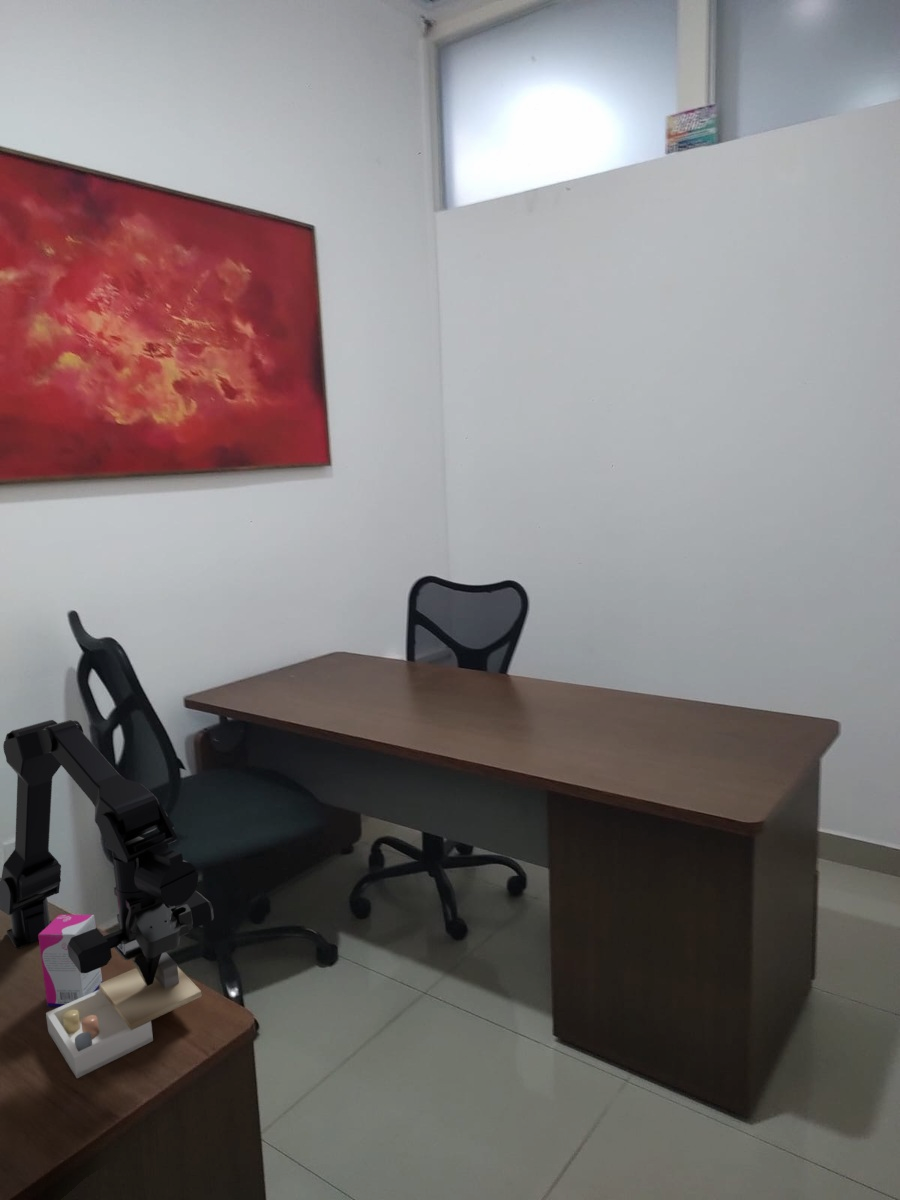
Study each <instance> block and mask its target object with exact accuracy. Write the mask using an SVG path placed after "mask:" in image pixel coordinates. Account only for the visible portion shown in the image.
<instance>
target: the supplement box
mask: <svg viewBox="0 0 900 1200" xmlns="http://www.w3.org/2000/svg"><path fill="white" fill-rule="evenodd" d="M95 928H97V927H96V919H95V914H58V915H57V916H56V917H55V918H54V919H53V920H52V921H51V923H50V924H49V925H48V926H47V927H46V928H45V929H44V930H43V931H42V932H41V933H39V935H38V938H39V941H38V943H39V951H40V959H41V965H42V975H43V981H44V983H43V984H44V988H45V989H44V990H45V998H46V999H45V1000H46V1006H47V1007H51V1008H53V1007H56V1008H58V1007H61V1006H63V1005H65V1004H68V1003H70V1002H72V1001H74V1000H77V999H79V998H81V997H84V996H86V995H88V994H90V993H93V992H95V991H97V990H100V988H99V984H100V983H102V982H103V977H102V976H103V975H102V970H101V968H102V967H100V968H98V969H96V970H93V971H91V972H88V973H81V972H80V971H79V970H78V968H77V967H76V966H75V964H74V963H73V962H72V960H71V959H70V958H69V955H68V947H67V945H68V943H69V941H70V940H71V938H72V937H74V936H77V935H80V934H82V933H85V932H87V931H90V930H93V929H95Z"/></svg>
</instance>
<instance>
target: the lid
mask: <svg viewBox="0 0 900 1200" xmlns="http://www.w3.org/2000/svg"><path fill="white" fill-rule="evenodd" d="M99 990H101V991H102V993H103V994H104V995H105V996H106V998H107V999H108V1000H109V1002H110V1003H111V1004H112V1006H113V1007H114V1008H115V1010H116V1011H117V1012H118V1014H119V1015H120V1016H121V1017H122V1019H123V1020H124V1021H125V1023H126V1024H127V1025H128V1027H129V1028H130V1029H131V1030H132V1029H134V1028H136V1027H138V1026H141V1025H143V1024H145V1023H147V1022H149V1021H151V1022H152V1021H153V1020H155V1019H158V1018H159V1017H161V1016H163V1015H165V1014H168V1013H169V1012H172V1011H174V1010H176V1009H178V1008H180V1007H183V1006H184V1005H186V1004H188V1003H190V1002H193V1001H196V999H199V998H201V997H202V990H201V989H200V988H199V987H198V986H197V985H196V984H195V983H194V982H193V981H192V980H191V979H190V978H189V976H188V975H186V973H185V972H183V970H182V969H181V968H180V967H179V966H178V963H177V962H176V961H175V960H174V959H173V958H172V957H171V956H170V955H169V954H168V953H167V951H166V952H164V953H162V954H161V957H160V960H159V963H158V967H157V971H156V974H155V978H154V981H153V984H151V985H149V986H147V985H146V984H145V982H144V981H143V979H142V977H141V975H140V973H139V972H138V970H137V968H136V967H135V968H132V969H130V970H128V971H125V972H123V973H121V974H118V975H116V976H114V977H111V978H109V979H106V980H105V981H102V983H100V984H99Z"/></svg>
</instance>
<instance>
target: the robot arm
mask: <svg viewBox="0 0 900 1200" xmlns="http://www.w3.org/2000/svg"><path fill="white" fill-rule="evenodd" d="M2 747H3V753H4V756H5V760H6V764H7V765H9V766H10V768H11V769H12V770H13V771H14V772H15V774H16V775H17V776H16V777H17V780H16V781H17V782H16V783H17V786H16V813H15V814H16V815H15V839H14V841H15V843H14V850H12V852H11V854H9V857H8V858H7V859H6V861H5V862H4V863H3V865H2V871H1V880H0V911H2V912H3V913H4V914H7V916H10V924H11V928H9V929H7V930H6V935H7V937H8V938H9V939H10V941H11V942H12V944H13V946H14V947H15V949H21V948H23V947H26V946H29V945H31V944H34V943H36V942H39V938H38V935H39V933H41V932H42V931H43V930H44V929H45V928H46V927H47V926H48V925H49V924H50V923H51V922H52V921H51V917H50V910H49V909H50V908H49V905H48V903H49V902H48V898H49V897H51V896H53V895H57V894H59V893H60V887H61V881H62V880H61V873H62V870H61V869H62V865H61V864H60V863H59V861H58V859H57V858H55V856H54V855H53V854H52V853H51V851H49V850H50V849H49V846H50V830H51V829H50V828H51V814H52V813H51V808H52V794H53V793H52V791H53V790H52V789H53V777H54V776H55V774H56V773H57V772H58V770H59V769H60V768H61V767H62V768H63V770H65V771H66V773H67V774H68V775H69V777H71V778H72V780H73V781H74V782H75V783H76V784H77V786H78V787H79V788H80V789H81V790H82V792H83V793H84V794H85V795H86V796H87V798H88V799H89V800H90V801H91V803H92V805H93V806H94V823H96V825H97V826H98V829H99V832H100V834H101V836H102V837H103V838H104V841H106V842H105V843H104V847H105V849H107V850H109V851H111V854H112V855H111V856H112V862H113V863H112V864H113V873H114V879H115V880H114V881H115V887H113V892H114V895H115V896H116V899H117V907H118V913H117V914H116V917H117V922H118V924H119V925H120V929H117V930H115V931H112V932H110V933H107V934H105V935H103V934H102V932H100V930H99V929H98V927H96V928H95V929H93V930H90V931H87V932H85V933H82V934H80V935H77V936H74V937H72V938H71V940H70V941H69V943H68V945H67V947H68V955H69V958H70V959H71V960H72V962H73V963H74V964H75V966H76V967H77V968H78V970H79V971H80V972H81V973H88V972H91V971H93V970H96V969H98V968H102V967H103V968H104V966H107V965H108V963H109V962H110V961H111V960H112V957H113V956H112V955H113V954H112V949H115V951H116V952H117V953H118V955H120V956H121V957H122V959H123V960H125V961H130V960H131V961H132V963H133V964H134V966H135V968H137V970H138V972H139V973H140V975H141V977H142V979H143V981H144V982H145V984H146V985H147V986H149V985H151V984H153V981H154V978H155V974H156V971H157V967H158V963H159V960H160V957H161V954H163V953H165V952H166V953H167V952H169V951H170V950H171V951H173V950H175V949H177V948H178V947H179V945H180V939H181V937H183V936H185V935H188V934H190V930H192V929H196V928H199V927H202V926H203V925H206V924H208V923H211V922H212V921H213V920H214V918H215V917H214V906H213V905H212V902H211V901H209V900H208V899H207V898H205V897H204V895H202V894H201V893H200V892H198V891H197V890H196V888H197V887H198V883H199V872H198V871H197V869H196V867H195V865H194V864H193V863H191V862H189V861H186V860H185V859H183V858H184V856H183V854H182V852H179V851H177V850H173V849H171V848H169V844H172V843H174V842H176V841H177V840H178V836H177V834H176V832H175V830H174V828H175V824H174V823H173V822H172V820H171V819H170V817H169V815H168V814H167V812H166V810H165V809H164V808H163V806H162V805H163V804H161V802H160V799H159V798H157V796H155V795H154V794H153V792H152V791H150V790H149V789H148V788H147V787H145V786H144V785H143V783H140V782H138V781H134V780H131V779H128V778H127V779H126V778H124V777H123V776H122V775H121V774H120V773H119V772H118V771H117V770H116V768H114V766H113V765H112V764H111V763H110V762H109V760H108V759H106V757H105V756H104V755H103V754H102V753H101V752H100V751H99V749H98V748H97V747H96V746H95V744H93V743H92V741H91V740H90V739H89V738H88V737H87V736H86V735H85V734H84V729H83V727H82V724H80V722H79V721H78V720H72V719H68V720H66V721H62V722H57V721H55V720H54V719H49V720H45V721H42V722H38V723H35V724H31V725H28V726H24V727H21V728H17V729H13V730H11V731H10V732H8V733H7V734H6V735H5V739H4V741H3V746H2ZM156 829H158V832H157V833H154V834H151V835H149V836H147V837H142V836H144V835H146V834H148V833H151V832H153V831H155V830H156Z"/></svg>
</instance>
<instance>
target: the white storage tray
mask: <svg viewBox="0 0 900 1200" xmlns="http://www.w3.org/2000/svg"><path fill="white" fill-rule="evenodd" d="M45 1015H46V1016H45V1018H46V1024H47V1031H48V1034H49V1036H50V1037H51V1039H52V1040H53V1042H54V1044H55V1046H56V1047H57V1048H58V1050H59V1053H60V1054H61V1055H62V1057H63V1059H64V1060H65V1062H66V1064H67V1065H68V1066H69V1068H70V1070H71V1072H72V1073H73V1075H74V1076H75V1078H76V1079H80V1078H82V1077H83V1076H85V1075H88V1074H89V1073H91V1072H93V1071H95V1070H98V1069H100V1068H101V1067H103V1066H106V1065H108V1064H109V1063H111V1062H113V1061H114V1062H115V1060H117V1059H119V1058H121V1057H124V1056H126V1055H127V1054H129V1053H131V1052H134V1051H136V1050H137V1049H139V1048H140V1049H141V1048H142V1047H144V1046H146V1045H148V1044H150V1043H151V1042H153V1041H154V1037H153V1025H152V1020H151V1021H149V1022H147V1023H145V1024H143V1025H141V1026H138V1027H136V1028H134V1029H132V1030H131V1029H130V1028H129V1027H128V1025H127V1024H126V1023H125V1021H124V1020H123V1019H122V1017H121V1016H120V1015H119V1014H118V1012H117V1011H116V1010H115V1008H114V1007H113V1006H112V1004H111V1003H110V1002H109V1000H108V999H107V998H106V996H105V995H104V994H103V993H102V991H101V990H100V989H98V990H97V991H95V992H93V993H90V994H88V995H86V996H84V997H81V998H79V999H77V1000H74V1001H72V1002H70V1003H68V1004H65V1005H63V1006H61V1007H56V1008H54V1009H52V1010H51V1009H50V1010H49V1011H47V1012H46V1013H45Z"/></svg>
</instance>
